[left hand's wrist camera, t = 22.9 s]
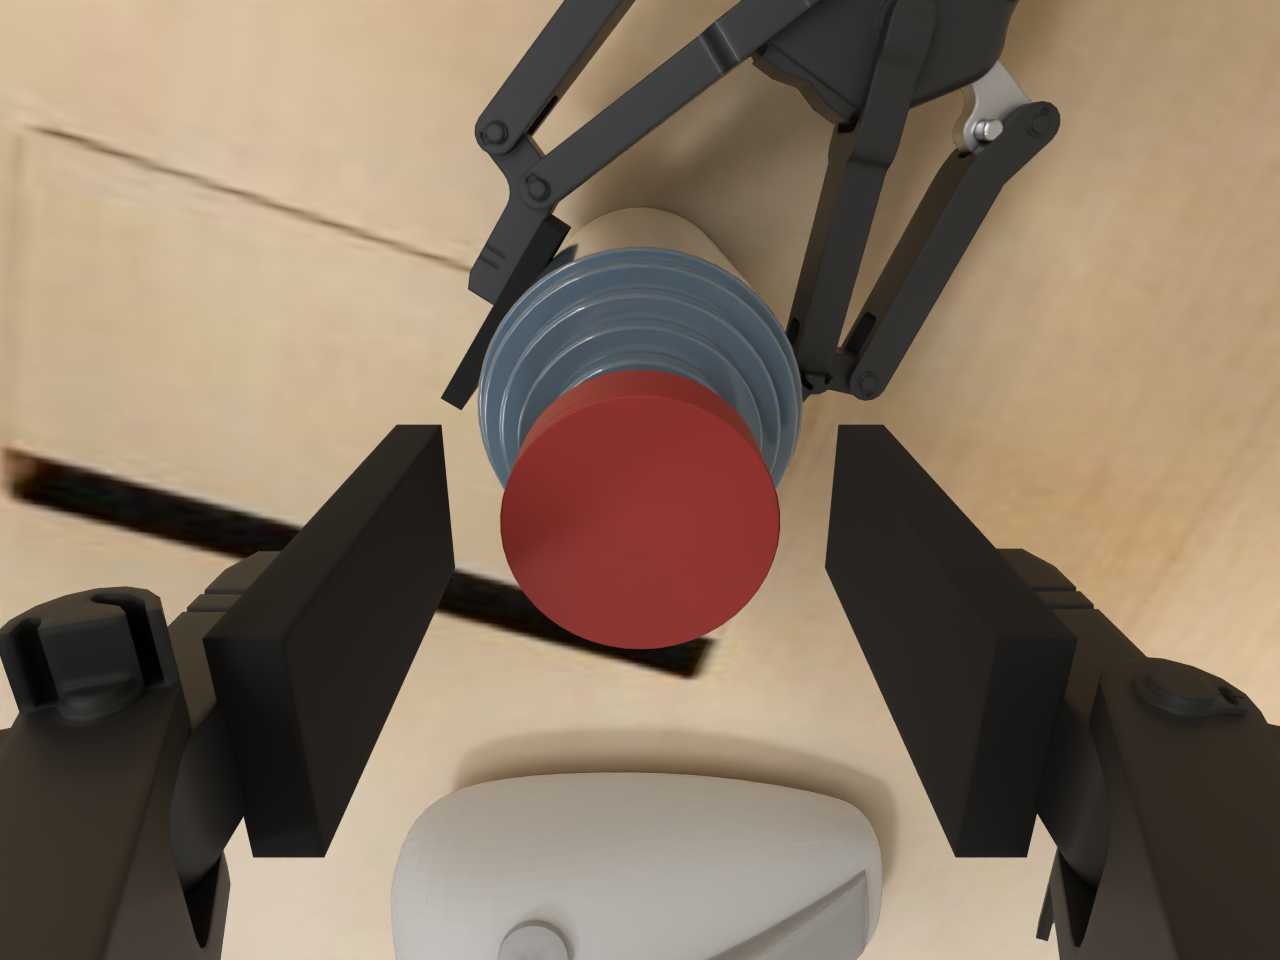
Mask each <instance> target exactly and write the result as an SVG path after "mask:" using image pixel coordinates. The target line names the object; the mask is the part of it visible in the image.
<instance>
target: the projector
mask: <svg viewBox="0 0 1280 960" xmlns="http://www.w3.org/2000/svg"><path fill="white" fill-rule="evenodd" d="M881 896H882V859H881V851H880V846H879V842H878V838H877V836H876V833H875V831H874V829H873V827H872V825H871V823H870V822H869V821H868V819H867V818H866V817H865V815H864V814H863V813H862V812H861V811H860V810H859V809H858V808H856V807H855V806H854V805H852V804H850V803H848V802H845V801H843V800H841V799H837V798H834V797H831V796H827V795H823V794H818V793H814V792H810V791H805V790H800V789H795V788H789V787H784V786H779V785H772V784H765V783H759V782H752V781H745V780H737V779H728V778H719V777H710V776H698V775H684V774H669V773H637V772H596V773H568V774H551V775H536V776H525V777H516V778H507V779H501V780H495V781H489V782H483V783H480V784H476V785H472V786H468V787H465V788H462V789H460V790H457V791H455V792H452V793H450V794H448V795H446V796H444V797H442V798H440V799H439V800H438V801H436V802H435V803H434V804H432V805H431V806H430V807H428V808H427V809H426V810H425V811H424V812H423V813H422V814H421V815H420V816H419V817H418V819H417V820H416V821H415V823H414V824H413V826H412V827H411V829H410V830H409V832H408V834H407V836H406V838H405V840H404V843H403V846H402V848H401V851H400V854H399V857H398V861H397V865H396V869H395V873H394V879H393V886H392V897H391V915H392V929H393V939H394V947H395V954H396V960H856V959H857V958H858V957H859V956H860V955H861V954H862V953H863V951H864V949H865V947H866V945H867V944H868V943H869V941H870V940H871V938H872V936H873V934H874V932H875V929H876V927H877V924H878V920H879V915H880V908H881Z"/></svg>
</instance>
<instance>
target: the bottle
mask: <svg viewBox="0 0 1280 960" xmlns="http://www.w3.org/2000/svg"><path fill="white" fill-rule="evenodd" d="M631 370H650V371H660V372H665V373H671V374H675V375H678V376H681V377H684V378H687V379H690V380H692V381H695V382H697V383H699V384H701V385H703V386H705V387H707V388H708V389H710V390H711V391H713V392H714V393H716V394H718V395H719V396H720V397H722V398H723V399H724V400H725V401H726V402H727V403H729V404H730V405H731V406H732V407H733V408H734V409H735V410H736V411H737V413H738V414H739V415H740V416H741V417H742V418H743V419H744V421H745V422H746V424H747V425H748V427H749V429H750V430H751V432H752V433H753V435H754V437H755V440H756V442H757V444H758V446H759V448H760V451H761V453H762V455H763V458H764V460H765V463H766V465H767V468H768V470H769V473H770V475H771V477H772V480H773V483H774V486H775V490H776V489H777V487H778V486H779V484H780V482H781V480H782V478H783V476H784V474H785V472H786V470H787V469H788V467H789V465H790V462H791V459H792V457H793V454H794V451H795V449H796V446H797V441H798V437H799V433H800V428H801V420H802V409H803V401H802V384H801V379H800V373H799V368H798V364H797V361H796V358H795V355H794V352H793V349H792V346H791V344H790V342H789V340H788V338H787V335H786V333H785V331H784V329H783V327H782V326H781V324H780V323H779V321H778V320H777V318H776V317H775V315H774V314H773V312H772V311H771V309H770V308H769V307H768V306H767V305H766V303H765V302H764V301H763V300H762V299H761V298H760V296H759V295H758V294H757V293H756V292H755V291H754V289H753V288H752V287H751V286H750V285H749V284H748V283H747V281H746V280H745V279H744V278H743V277H742V276H741V274H740V273H739V272H738V271H737V270H736V269H735V267H734V266H733V265H732V264H731V263H730V262H729V260H728V259H727V258H726V257H725V256H724V255H723V253H722V252H721V251H720V250H719V249H718V248H717V246H716V245H715V244H714V243H713V242H712V241H711V240H710V238H709V237H708V236H707V235H706V234H705V233H704V232H703V231H701V230H700V229H699V228H698V227H697V226H695V225H694V224H692V223H691V222H689V221H688V220H686V219H684V218H682V217H680V216H678V215H676V214H674V213H671V212H667V211H664V210H660V209H654V208H643V207H634V208H626V209H620V210H617V211H613V212H609V213H607V214H605V215H602V216H600V217H598V218H596V219H594V220H593V221H591V222H589V223H588V224H586V225H585V226H584V227H582V228H581V229H580V230H579V231H577V232H576V233H575V234H574V236H573V237H572V238H571V239H570V240H569V241H568V242H567V243H566V244H565V245H564V247H563V248H562V249H561V250H560V251H559V252H558V254H557V255H556V256H555V257H554V258H553V259H552V261H551V262H550V263H549V264H548V265H547V266H546V268H545V269H544V270H543V271H542V272H541V273H540V275H539V276H538V277H537V278H536V279H535V280H534V282H533V283H532V284H531V285H530V286H529V287H528V289H527V290H526V291H525V292H524V293H523V294H522V296H521V297H520V298H519V299H518V300H517V301H516V303H515V304H514V305H513V306H512V308H511V309H510V310H509V312H508V313H507V314H506V316H505V317H504V319H503V320H502V321H501V323H500V325H499V327H498V329H497V330H496V332H495V334H494V336H493V338H492V340H491V342H490V345H489V347H488V350H487V353H486V356H485V358H484V361H483V366H482V370H481V375H480V380H479V389H478V417H479V426H480V431H481V436H482V441H483V444H484V447H485V450H486V453H487V456H488V459H489V462H490V464H491V466H492V468H493V470H494V472H495V474H496V476H497V478H498V480H499V481H500V483H501V485H502V487H503V489H504V490H505V488H506V484H507V481H508V479H509V476H510V474H511V471H512V469H513V466H514V464H515V462H516V459H517V457H518V454H519V452H520V449H521V447H522V445H523V443H524V440H525V438H526V436H527V434H528V432H529V431H530V429H531V428H532V426H533V425H534V423H535V421H536V420H537V419H538V418H539V417H540V415H541V414H542V413H543V412H544V411H545V410H546V408H547V407H549V406H550V405H551V404H552V403H553V402H554V401H555V400H556V399H558V398H559V397H560V396H562V395H563V394H565V393H566V392H568V391H569V390H570V389H572V388H574V387H576V386H578V385H580V384H582V383H584V382H586V381H588V380H590V379H593V378H596V377H599V376H602V375H605V374H610V373H615V372H620V371H631Z"/></svg>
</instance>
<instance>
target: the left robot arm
mask: <svg viewBox="0 0 1280 960" xmlns="http://www.w3.org/2000/svg"><path fill="white" fill-rule="evenodd" d="M454 569H455V562H454V552H453V541H452V531H451V520H450V510H449V499H448V489H447V478H446V468H445V458H444V447H443V437H442V426H441V425H396V426H395V427H394V428H393V429H392V430H391V432H390V433H389V434H388V435H387V436H386V437H385V438H384V439H383V440H382V441H381V443H380V444H379V445H378V446H377V447H376V448H375V449H374V450H373V451H372V452H371V454H370V455H369V456H368V457H367V458H366V459H365V460H364V461H363V462H362V463H361V465H360V466H359V467H358V468H357V469H356V470H355V471H354V472H353V473H352V474H351V476H350V477H349V478H348V479H347V480H346V481H345V482H344V483H343V484H342V485H341V487H340V488H339V489H338V490H337V491H336V492H335V493H334V494H333V495H332V496H331V498H330V499H329V500H328V501H327V502H326V503H325V504H324V505H323V506H322V507H321V508H320V510H319V511H318V512H317V513H316V514H315V515H314V516H313V517H312V518H311V519H310V521H309V522H308V523H307V524H306V525H305V526H304V527H303V528H302V529H301V530H300V532H299V533H298V534H297V535H296V536H295V537H294V538H293V539H292V540H291V541H290V543H289V544H288V545H287V546H286V547H285V548H284V549H283V550H282V551H259V552H257V553H255V554H253V555H251V556H249V557H247V558H246V559H244V560H242V561H240V562H238V563H236V564H234V565H233V566H231V567H229V568H227V569H225V570H224V571H223V572H222V573H221V574H220V575H219V576H218V577H217V578H216V579H215V580H214V581H213V582H212V583H211V584H210V585H209V586H208V587H207V588H206V589H205V593H204V594H200V595H199V596H198V597H197V598H196V599H195V600H194V601H193V602H192V603H191V604H190V605H189V606H188V607H187V612H182V613H181V614H180V615H179V616H178V617H177V618H176V619H175V620H174V621H173V622H172V623H171V624H170V625H169V626H168V627H167V624H166V620H165V616H164V612H163V608H162V604H161V600H160V597H158V596H157V595H155V594H154V593H152V592H150V591H149V590H147V589H140V588H133V587H126V586H125V587H110V588H97V589H92V590H88V591H83V592H78V593H74V594H69V595H65V596H62V597H60V598H57V599H54V600H51V601H48V602H46V603H43V604H40V605H37V606H35V607H33V608H31V609H29V610H28V611H26V612H24V613H22V614H20V615H18V616H17V617H15V618H13V619H11V620H9V621H8V622H7V623H6V624H5V625H4V626H3V627H2V628H1V629H0V657H1V660H2V663H3V666H4V668H5V671H6V674H7V677H8V680H9V683H10V686H11V689H12V692H13V695H14V697H15V700H16V703H17V706H18V709H19V714H18V716H17V718H16V720H15V721H14V723H13V725H12V727H11V728H8V729H2V730H0V960H220V959H221V952H222V944H223V937H224V929H225V922H226V914H227V907H228V899H229V892H230V878H229V872H228V866H227V862H226V858H225V854H224V848H225V846H226V845H227V843H228V841H229V840H230V838H231V836H232V835H233V833H234V831H235V830H236V828H237V826H238V825H239V823H240V821H241V820H242V818H243V816H244V820H245V824H246V828H247V833H248V837H249V841H250V845H251V850H252V854H253V857H325V855H326V853H327V850H328V848H329V846H330V844H331V841H332V839H333V837H334V835H335V833H336V830H337V828H338V826H339V824H340V821H341V819H342V817H343V815H344V813H345V810H346V808H347V806H348V804H349V802H350V799H351V797H352V795H353V793H354V790H355V788H356V786H357V784H358V782H359V779H360V777H361V775H362V773H363V771H364V768H365V766H366V764H367V762H368V759H369V757H370V755H371V753H372V751H373V748H374V746H375V744H376V742H377V739H378V737H379V735H380V733H381V731H382V728H383V726H384V724H385V722H386V720H387V717H388V715H389V713H390V711H391V708H392V706H393V704H394V702H395V700H396V697H397V695H398V693H399V691H400V688H401V686H402V684H403V682H404V680H405V677H406V675H407V673H408V671H409V669H410V666H411V664H412V662H413V660H414V657H415V655H416V653H417V651H418V649H419V646H420V644H421V642H422V640H423V637H424V635H425V633H426V631H427V629H428V626H429V624H430V622H431V620H432V618H433V615H434V613H435V611H436V609H437V606H438V604H439V602H440V600H441V598H442V595H443V593H444V591H445V589H446V586H447V584H448V582H449V580H450V578H451V575H452V573H453V571H454ZM825 569H826V571H827V573H828V575H829V578H830V580H831V582H832V584H833V586H834V589H835V591H836V593H837V595H838V598H839V600H840V602H841V604H842V606H843V609H844V611H845V613H846V615H847V618H848V620H849V622H850V624H851V626H852V629H853V631H854V633H855V635H856V637H857V640H858V642H859V644H860V646H861V649H862V651H863V653H864V655H865V657H866V660H867V662H868V664H869V666H870V669H871V671H872V673H873V675H874V677H875V680H876V682H877V684H878V686H879V688H880V691H881V693H882V695H883V697H884V700H885V702H886V704H887V706H888V708H889V711H890V713H891V715H892V717H893V720H894V722H895V724H896V726H897V728H898V731H899V733H900V735H901V737H902V739H903V742H904V744H905V746H906V748H907V751H908V753H909V755H910V757H911V759H912V762H913V764H914V766H915V768H916V770H917V773H918V775H919V777H920V779H921V782H922V784H923V786H924V788H925V790H926V793H927V795H928V797H929V799H930V802H931V804H932V806H933V808H934V810H935V813H936V815H937V817H938V819H939V821H940V824H941V826H942V828H943V830H944V833H945V835H946V837H947V839H948V841H949V844H950V846H951V848H952V850H953V853H954V855H955V857H1027V854H1028V850H1029V845H1030V841H1031V837H1032V833H1033V828H1034V824H1035V820H1036V816H1037V814H1038V815H1039V817H1040V819H1041V820H1042V822H1043V824H1044V825H1045V827H1046V829H1047V830H1048V832H1049V834H1050V835H1051V837H1052V839H1053V840H1054V842H1055V843H1056V845H1057V850H1056V854H1055V858H1054V862H1053V866H1052V870H1051V874H1050V878H1049V882H1048V886H1047V890H1046V894H1045V898H1044V902H1043V906H1042V910H1041V914H1040V918H1039V923H1038V929H1037V935H1036V938H1038V939H1042V940H1045V941H1048V938H1049V935H1050V931H1051V927H1052V924H1053V923H1054V922H1055V927H1056V934H1057V942H1058V949H1059V957H1060V960H1280V726H1277V725H1272V724H1268V723H1267V721H1266V720H1265V718H1264V716H1263V714H1262V713H1261V711H1260V710H1259V709H1258V708H1257V706H1256V705H1255V704H1254V703H1253V702H1252V701H1251V700H1250V699H1249V697H1248V696H1247V695H1246V694H1245V693H1243V692H1242V691H1240V690H1238V689H1237V688H1235V687H1234V686H1232V685H1231V684H1229V683H1228V682H1226V681H1225V680H1223V679H1222V678H1219V677H1217V676H1215V675H1212V674H1210V673H1208V672H1205V671H1203V670H1200V669H1198V668H1196V667H1193V666H1190V665H1186V664H1182V663H1178V662H1174V661H1170V660H1166V659H1162V658H1149V657H1146V656H1145V655H1144V654H1143V653H1142V652H1141V651H1140V650H1139V649H1138V648H1137V647H1136V646H1135V645H1134V644H1133V643H1132V642H1131V641H1130V640H1129V639H1128V638H1127V637H1126V636H1125V635H1124V634H1123V633H1122V632H1121V631H1120V630H1119V629H1118V628H1117V627H1116V626H1115V625H1114V624H1113V623H1112V622H1111V621H1110V620H1109V619H1108V618H1107V617H1106V616H1105V615H1104V614H1103V613H1102V612H1101V611H1100V610H1099V609H1094V604H1093V603H1092V602H1091V601H1090V600H1088V599H1087V598H1086V597H1085V596H1084V595H1083V594H1082V593H1081V592H1080V591H1076V587H1075V586H1074V585H1073V584H1072V583H1071V582H1070V581H1069V580H1068V579H1067V578H1066V577H1065V576H1064V575H1063V574H1062V573H1061V572H1060V571H1059V570H1058V569H1057V568H1056V567H1055V566H1053V565H1051V564H1049V563H1048V562H1046V561H1044V560H1042V559H1040V558H1038V557H1036V556H1035V555H1033V554H1031V553H1029V552H1027V551H1025V550H1023V549H996V548H995V547H994V546H993V545H992V544H991V543H990V541H989V540H988V539H987V538H986V537H985V536H984V535H983V534H982V533H981V532H980V530H979V529H978V528H977V527H976V526H975V525H974V524H973V523H972V522H971V521H970V519H969V518H968V517H967V516H966V515H965V514H964V513H963V512H962V511H961V510H960V508H959V507H958V506H957V505H956V504H955V503H954V502H953V501H952V500H951V499H950V498H949V496H948V495H947V494H946V493H945V492H944V491H943V490H942V489H941V488H940V487H939V485H938V484H937V483H936V482H935V481H934V480H933V479H932V478H931V477H930V476H929V474H928V473H927V472H926V471H925V470H924V469H923V468H922V467H921V466H920V465H919V463H918V462H917V461H916V460H915V459H914V458H913V457H912V456H911V455H910V454H909V452H908V451H907V450H906V449H905V448H904V447H903V446H902V445H901V444H900V443H899V441H898V440H897V439H896V438H895V437H894V436H893V435H892V434H891V433H890V432H889V430H888V429H887V428H886V427H885V426H884V425H839V426H838V437H837V447H836V458H835V468H834V478H833V489H832V499H831V510H830V520H829V531H828V541H827V552H826V562H825Z"/></svg>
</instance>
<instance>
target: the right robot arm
mask: <svg viewBox="0 0 1280 960" xmlns="http://www.w3.org/2000/svg"><path fill="white" fill-rule="evenodd" d="M1018 1H1019V0H741V1H740V2H739V3H738V4H737V5H735V6H734V7H733V8H731V9H730V10H729V11H728V12H726V13H725V14H724V15H723V16H721V17H720V18H719V19H717V20H716V21H715V22H714V23H713V24H711V25H710V26H709V27H708V28H707V29H706V30H705V31H704V32H703V33H701V34H700V35H699V36H698V37H696V38H695V39H694V40H693V41H691V42H690V43H689V44H688V45H686V46H685V47H684V48H682V49H681V50H680V51H679V52H677V53H676V54H675V55H673V56H672V57H671V58H670V59H668V60H667V61H666V62H665V63H663V64H662V65H661V66H659V67H658V68H657V69H656V70H654V71H653V72H652V73H650V74H649V75H648V76H647V77H645V78H644V79H643V80H642V81H640V82H639V83H638V84H636V85H635V86H634V87H633V88H631V89H630V90H629V91H627V92H626V93H625V94H624V95H622V96H621V97H620V98H619V99H617V100H616V101H615V102H613V103H612V104H611V105H610V106H608V107H607V108H606V109H604V110H603V111H602V112H601V113H599V114H598V115H597V116H596V117H594V118H593V119H592V120H590V121H589V122H588V123H587V124H585V125H584V126H583V127H581V128H580V129H579V130H578V131H576V132H575V133H574V134H573V135H571V136H570V137H569V138H567V139H566V140H565V141H564V142H562V143H561V144H560V145H559V146H557V147H556V148H555V149H553V150H552V151H551V152H550V153H548V154H547V155H545V154H544V153H543V151H542V150H541V149H540V147H539V146H538V145H537V143H536V142H535V141H534V139H533V138H532V136H533V135H534V134H535V132H536V131H537V130H538V128H539V127H540V126H541V124H542V123H543V122H544V120H545V119H546V118H547V116H548V115H549V114H550V112H551V111H552V110H553V109H554V107H555V106H556V105H557V103H558V102H559V101H560V99H561V98H562V97H563V95H564V94H565V93H566V91H567V90H568V89H569V87H570V86H571V85H572V83H573V82H574V81H575V80H576V78H577V77H578V76H579V74H580V73H581V72H582V70H583V69H584V68H585V66H586V65H587V64H588V62H589V61H590V60H591V58H592V57H593V56H594V54H595V53H596V52H597V51H598V49H599V48H600V47H601V45H602V44H603V43H604V41H605V40H606V39H607V37H608V36H609V35H610V33H611V32H612V31H613V29H614V28H615V27H616V25H617V24H618V23H619V21H620V20H621V19H622V18H623V16H624V15H625V14H626V12H627V11H628V10H629V8H630V7H631V6H632V4H633V3H634V2H635V0H564V2H563V3H562V4H561V6H560V7H559V9H558V10H557V11H556V13H555V14H554V15H553V17H552V18H551V20H550V21H549V22H548V24H547V25H546V26H545V28H544V29H543V30H542V32H541V33H540V35H539V36H538V37H537V39H536V40H535V41H534V43H533V44H532V46H531V47H530V48H529V50H528V51H527V52H526V54H525V55H524V56H523V58H522V59H521V61H520V62H519V63H518V65H517V66H516V67H515V69H514V70H513V72H512V73H511V74H510V76H509V77H508V78H507V80H506V81H505V83H504V84H503V85H502V87H501V88H500V89H499V91H498V92H497V93H496V95H495V96H494V98H493V99H492V100H491V102H490V103H489V104H488V106H487V107H486V109H485V110H484V111H483V113H482V114H481V115H480V117H479V118H478V121H477V123H476V125H475V137H476V140H477V143H478V144H479V146H480V147H481V148H482V149H483V150H484V151H486V152H487V153H488V154H489V155H490V157H491V158H492V159H493V161H494V162H495V163H496V164H497V166H498V167H499V168H500V170H501V171H502V172H503V174H504V175H505V177H506V179H507V181H508V184H509V189H510V196H509V201H508V203H507V206H506V208H505V210H504V211H503V213H502V215H501V217H500V219H499V220H498V222H497V224H496V226H495V228H494V229H493V231H492V233H491V235H490V237H489V239H488V240H487V242H486V244H485V246H484V248H483V249H482V251H481V253H480V255H479V257H478V258H477V260H476V262H475V264H474V266H473V268H472V269H471V271H470V277H469V286H468V290H470V291H472V292H473V293H475V294H477V295H478V296H480V297H481V298H483V299H485V300H486V301H488V302H489V303H491V304H493V305H494V306H493V308H492V309H491V311H490V313H489V315H488V316H487V318H486V320H485V322H484V323H483V325H482V327H481V329H480V330H479V332H478V334H477V336H476V337H475V339H474V341H473V343H472V344H471V346H470V348H469V350H468V351H467V353H466V355H465V357H464V358H463V360H462V362H461V364H460V365H459V367H458V369H457V371H456V372H455V374H454V376H453V378H452V379H451V381H450V383H449V385H448V386H447V388H446V390H445V392H444V393H443V395H442V397H441V399H443V400H445V401H446V402H448V403H450V404H451V405H453V406H455V407H457V408H458V409H460V410H462V409H463V407H464V406H465V404H466V403H467V402H468V400H469V399H470V397H471V396H472V394H473V393H474V392H475V390H476V389H477V387H478V386H479V380H480V375H481V370H482V366H483V361H484V358H485V356H486V353H487V350H488V347H489V345H490V342H491V340H492V338H493V336H494V334H495V332H496V330H497V329H498V327H499V325H500V323H501V321H502V320H503V319H504V317H505V316H506V314H507V313H508V312H509V310H510V309H511V308H512V306H513V305H514V304H515V303H516V301H517V300H518V299H519V298H520V297H521V296H522V294H523V293H524V292H525V291H526V290H527V289H528V287H529V286H530V285H531V284H532V283H533V282H534V280H535V279H536V278H537V277H538V276H539V275H540V273H541V272H542V271H543V270H544V269H545V268H546V266H547V265H548V264H549V263H550V262H551V261H552V259H553V258H554V256H555V254H556V252H557V251H558V249H559V247H560V246H561V244H562V242H563V240H564V239H565V237H566V235H567V234H568V232H569V230H570V228H571V227H570V226H569V225H567V224H566V223H564V222H563V221H561V220H560V219H558V218H557V217H555V216H554V215H552V213H553V211H554V210H555V208H556V206H557V204H558V203H559V202H560V201H561V200H562V199H563V198H565V197H566V196H567V195H569V194H570V193H571V192H573V191H574V190H575V189H576V188H578V187H579V186H580V185H582V184H583V183H584V182H586V181H587V180H588V179H590V178H591V177H592V176H594V175H595V174H596V173H597V172H599V171H600V170H601V169H603V168H604V167H605V166H607V165H608V164H609V163H611V162H612V161H613V160H614V159H616V158H617V157H618V156H620V155H621V154H622V153H624V152H625V151H626V150H628V149H629V148H630V147H631V146H633V145H634V144H635V143H637V142H638V141H639V140H641V139H642V138H643V137H645V136H646V135H647V134H648V133H650V132H651V131H652V130H654V129H655V128H656V127H658V126H659V125H660V124H662V123H663V122H664V121H665V120H667V119H668V118H669V117H671V116H672V115H673V114H675V113H676V112H677V111H679V110H680V109H681V108H683V107H684V106H685V105H686V104H688V103H689V102H690V101H692V100H693V99H694V98H696V97H697V96H698V95H700V94H701V93H702V92H703V91H705V90H706V89H707V88H709V87H710V86H711V85H713V84H714V83H715V82H717V81H718V80H719V79H721V78H722V77H723V76H725V75H726V74H727V73H729V72H730V71H731V70H733V69H734V68H735V67H737V66H738V65H739V64H741V63H742V62H743V61H744V60H746V59H747V58H748V57H750V56H751V57H752V58H753V59H754V62H753V63H752V64H753V65H754V66H756V67H757V68H758V69H760V70H761V71H762V72H764V73H765V74H766V75H768V76H769V77H770V78H772V79H774V80H777V81H779V82H782V83H785V84H788V85H790V86H793V87H796V88H797V89H798V90H799V91H800V92H801V94H802V95H803V96H804V98H805V99H806V100H807V102H808V103H809V104H810V106H811V107H812V108H813V110H815V111H816V112H817V113H819V114H820V115H821V116H823V117H824V118H825V119H827V120H828V121H829V122H831V123H832V124H835V127H834V131H833V134H832V138H831V142H830V147H829V153H828V159H829V161H828V167H827V171H826V175H825V179H824V183H823V187H822V191H821V195H820V199H819V203H818V207H817V211H816V215H815V219H814V222H813V226H812V230H811V234H810V238H809V242H808V246H807V250H806V254H805V258H804V262H803V266H802V270H801V274H800V277H799V281H798V285H797V289H796V293H795V297H794V301H793V305H792V309H791V313H790V317H789V321H788V325H787V329H786V332H785V333H786V335H787V338H788V340H789V342H790V344H791V346H792V349H793V352H794V355H795V358H796V361H797V364H798V368H799V373H800V379H801V384H802V401H803V402H804V401H805V400H806V399H807V397H808V396H810V395H811V394H820V393H823V392H825V391H827V390H834V391H838V392H843V393H847V394H852V395H854V396H855V397H857V398H858V399H861V400H865V401H866V400H873V399H875V398H876V397H878V396H880V395H881V393H882V392H883V391H884V390H885V388H886V386H887V385H888V383H889V381H890V379H891V378H892V376H893V374H894V372H895V371H896V369H897V367H898V366H899V364H900V362H901V360H902V359H903V357H904V355H905V354H906V352H907V350H908V348H909V347H910V345H911V343H912V342H913V340H914V338H915V336H916V335H917V333H918V331H919V330H920V328H921V326H922V324H923V323H924V321H925V319H926V317H927V316H928V314H929V312H930V311H931V309H932V307H933V305H934V304H935V302H936V300H937V299H938V297H939V295H940V293H941V292H942V290H943V288H944V287H945V285H946V283H947V281H948V280H949V278H950V276H951V275H952V273H953V271H954V269H955V268H956V266H957V264H958V262H959V261H960V259H961V257H962V256H963V254H964V252H965V250H966V249H967V247H968V245H969V244H970V242H971V240H972V238H973V237H974V235H975V233H976V232H977V230H978V228H979V226H980V225H981V223H982V221H983V219H984V218H985V216H986V214H987V213H988V211H989V209H990V207H991V206H992V204H993V202H994V201H995V199H996V197H997V195H998V194H999V192H1000V190H1001V189H1002V187H1003V185H1004V184H1005V183H1006V182H1007V181H1008V180H1009V179H1010V178H1011V177H1012V176H1013V175H1014V174H1016V173H1017V172H1018V171H1019V170H1020V169H1021V168H1022V167H1023V166H1024V165H1025V164H1026V163H1027V162H1028V161H1029V160H1031V159H1032V158H1033V157H1034V156H1035V155H1036V154H1037V153H1038V152H1039V151H1040V150H1041V149H1042V148H1043V147H1045V146H1046V145H1047V144H1048V143H1049V142H1050V141H1051V140H1052V139H1053V137H1054V136H1055V135H1056V134H1057V132H1058V129H1059V126H1060V114H1059V112H1058V110H1057V108H1056V107H1055V106H1054V105H1053V104H1051V103H1049V102H1044V101H1041V102H1034V103H1033V102H1032V101H1030V99H1029V98H1028V97H1027V95H1026V94H1025V93H1024V92H1023V90H1022V89H1021V88H1020V86H1019V85H1018V84H1017V82H1016V81H1015V80H1014V78H1013V77H1012V76H1011V75H1010V73H1009V72H1008V71H1007V69H1006V68H1005V67H1004V65H1003V64H1002V63H1001V62H1000V60H999V57H1000V55H1001V53H1002V50H1003V47H1004V43H1005V38H1006V32H1007V28H1008V24H1009V21H1010V18H1011V15H1012V13H1013V11H1014V9H1015V7H1016V5H1017V3H1018ZM958 89H960V90H961V91H962V93H963V96H964V108H963V111H962V114H961V115H960V117H959V118H958V120H957V122H956V123H955V125H954V128H953V134H952V137H953V142H954V144H955V146H956V147H957V148H956V149H955V150H954V151H953V152H952V153H951V155H950V156H949V157H948V158H947V160H946V161H945V162H944V164H943V165H942V166H941V168H940V169H939V171H938V173H937V174H936V176H935V178H934V179H933V181H932V183H931V184H930V186H929V188H928V190H927V192H926V194H925V195H924V197H923V199H922V201H921V203H920V204H919V206H918V208H917V210H916V212H915V214H914V215H913V217H912V219H911V221H910V223H909V224H908V226H907V228H906V230H905V232H904V234H903V235H902V237H901V239H900V241H899V243H898V244H897V246H896V248H895V250H894V252H893V254H892V255H891V257H890V259H889V261H888V263H887V264H886V266H885V268H884V270H883V272H882V274H881V275H880V277H879V279H878V281H877V283H876V284H875V286H874V288H873V290H872V292H871V294H870V295H869V297H868V299H867V301H866V303H865V304H864V306H863V308H862V310H861V312H860V314H859V315H858V317H857V319H856V321H855V323H854V324H853V326H852V328H851V330H850V332H849V334H848V335H847V337H846V339H845V341H844V343H843V344H842V346H841V347H837V345H838V342H839V338H840V334H841V331H842V327H843V324H844V320H845V317H846V313H847V310H848V306H849V302H850V299H851V295H852V292H853V288H854V285H855V281H856V277H857V274H858V270H859V267H860V263H861V260H862V256H863V252H864V249H865V245H866V242H867V238H868V235H869V231H870V227H871V224H872V220H873V217H874V213H875V210H876V206H877V202H878V199H879V195H880V192H881V188H882V185H883V181H884V177H885V174H886V172H887V170H888V168H889V167H890V165H891V164H892V162H893V160H894V158H895V155H896V152H897V149H898V146H899V142H900V138H901V135H902V131H903V128H904V124H905V121H906V117H907V114H908V110H909V109H911V108H914V107H916V106H919V105H921V104H923V103H926V102H928V101H931V100H933V99H936V98H938V97H940V96H943V95H945V94H948V93H950V92H953V91H955V90H958Z"/></svg>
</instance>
